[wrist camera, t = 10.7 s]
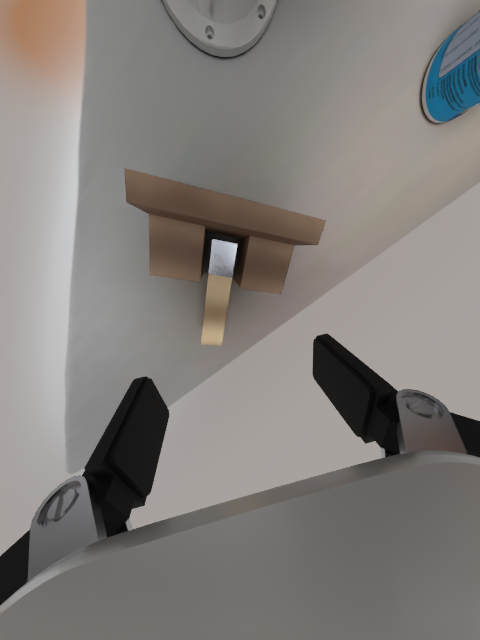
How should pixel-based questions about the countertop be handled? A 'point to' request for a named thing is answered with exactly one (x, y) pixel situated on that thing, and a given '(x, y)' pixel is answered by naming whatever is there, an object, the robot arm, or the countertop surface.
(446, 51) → the beverage bottle
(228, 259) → the silver and tan rail
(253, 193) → the countertop surface
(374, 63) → the countertop surface
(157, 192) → the wooden two-prong bracket
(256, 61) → the countertop surface
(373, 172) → the countertop surface
